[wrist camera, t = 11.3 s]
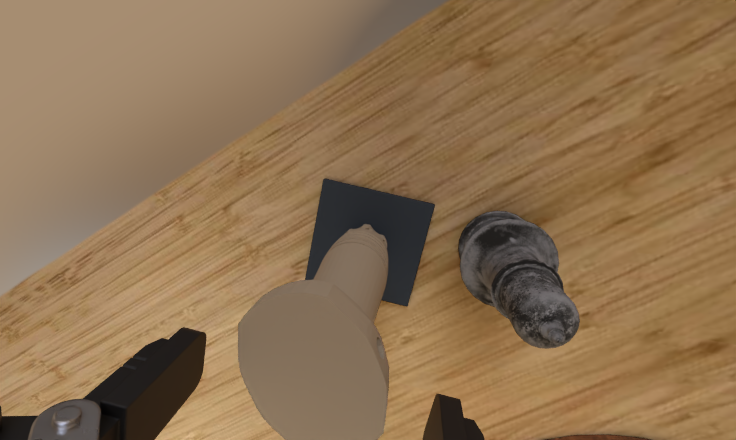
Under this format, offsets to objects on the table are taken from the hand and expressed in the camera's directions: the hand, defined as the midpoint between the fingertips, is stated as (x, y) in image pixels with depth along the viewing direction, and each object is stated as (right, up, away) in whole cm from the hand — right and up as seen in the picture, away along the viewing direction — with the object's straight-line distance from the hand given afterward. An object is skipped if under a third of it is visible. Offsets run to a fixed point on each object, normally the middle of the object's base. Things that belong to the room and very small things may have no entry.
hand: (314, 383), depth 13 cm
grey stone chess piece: (+11, +4, +14) cm, 18 cm away
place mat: (+2, +4, +15) cm, 16 cm away
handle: (+2, +4, +15) cm, 15 cm away
